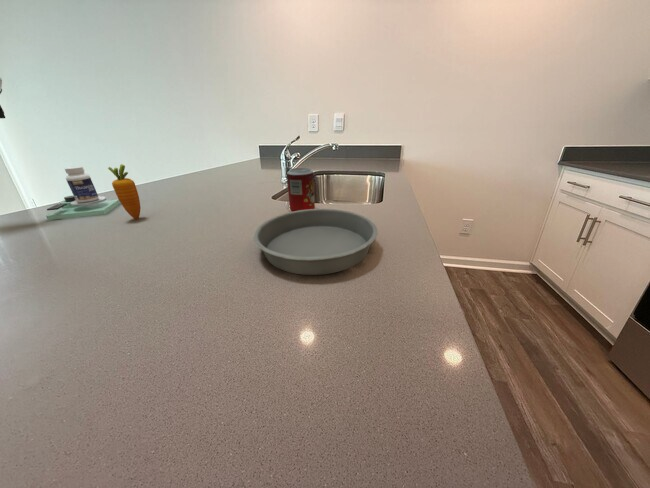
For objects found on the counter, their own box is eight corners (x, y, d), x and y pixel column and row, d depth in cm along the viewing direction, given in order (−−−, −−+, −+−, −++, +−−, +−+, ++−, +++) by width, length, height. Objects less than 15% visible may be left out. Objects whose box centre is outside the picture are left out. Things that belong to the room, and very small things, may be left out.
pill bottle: (80, 203, 75) (64, 169, 71) (73, 201, 78) (58, 168, 74) (102, 199, 79) (88, 166, 75) (95, 196, 82) (81, 165, 78)
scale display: (47, 210, 72) (46, 209, 72) (57, 205, 76) (57, 204, 76) (57, 209, 73) (57, 208, 73) (67, 204, 77) (67, 203, 77)
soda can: (313, 217, 70) (310, 171, 64) (287, 217, 71) (283, 172, 65) (316, 209, 76) (314, 166, 71) (293, 209, 77) (289, 167, 71)
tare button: (64, 203, 80) (61, 198, 79) (69, 200, 82) (67, 195, 81) (75, 202, 80) (73, 197, 80) (80, 199, 83) (78, 195, 82)
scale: (46, 220, 74) (40, 210, 72) (70, 207, 84) (66, 198, 83) (105, 214, 77) (101, 204, 76) (121, 202, 88) (117, 194, 87)
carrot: (122, 221, 71) (99, 165, 64) (139, 215, 75) (120, 162, 68) (134, 223, 69) (112, 166, 63) (151, 217, 73) (132, 163, 67)
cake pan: (264, 228, 64) (261, 211, 62) (361, 222, 66) (362, 205, 64) (246, 286, 42) (241, 262, 40) (393, 275, 44) (395, 252, 42)
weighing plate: (65, 207, 74) (64, 205, 74) (80, 199, 81) (79, 198, 81) (99, 204, 76) (98, 202, 76) (111, 196, 84) (110, 195, 83)
